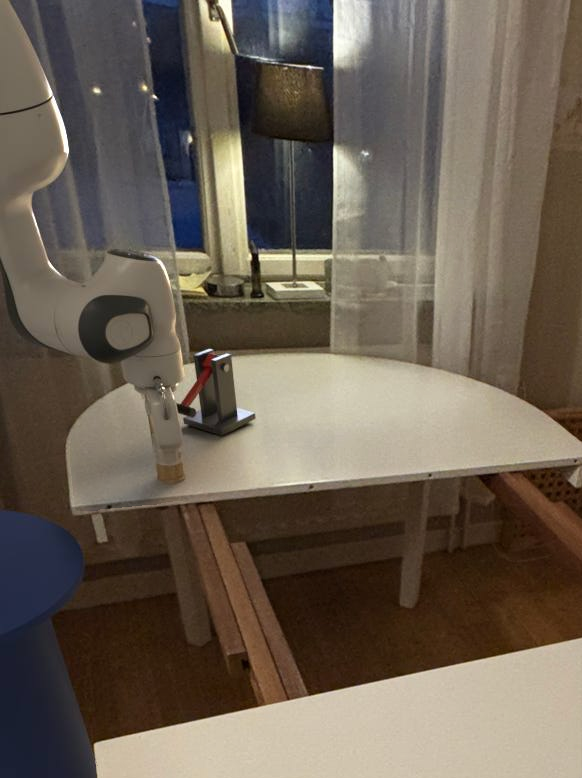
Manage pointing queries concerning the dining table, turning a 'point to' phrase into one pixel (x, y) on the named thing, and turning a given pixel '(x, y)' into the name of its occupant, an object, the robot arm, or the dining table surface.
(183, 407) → the lever
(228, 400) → the bracket
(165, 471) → the sprinkles bottle
